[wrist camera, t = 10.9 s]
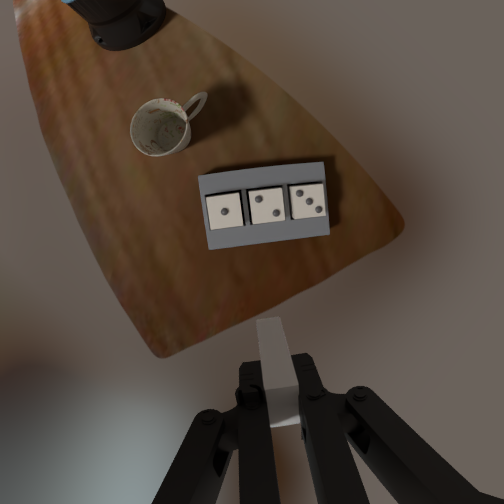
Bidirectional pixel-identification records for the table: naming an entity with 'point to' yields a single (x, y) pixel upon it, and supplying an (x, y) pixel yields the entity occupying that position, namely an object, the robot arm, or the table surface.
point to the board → (242, 182)
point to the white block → (224, 210)
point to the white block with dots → (306, 200)
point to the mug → (164, 125)
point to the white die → (266, 205)
